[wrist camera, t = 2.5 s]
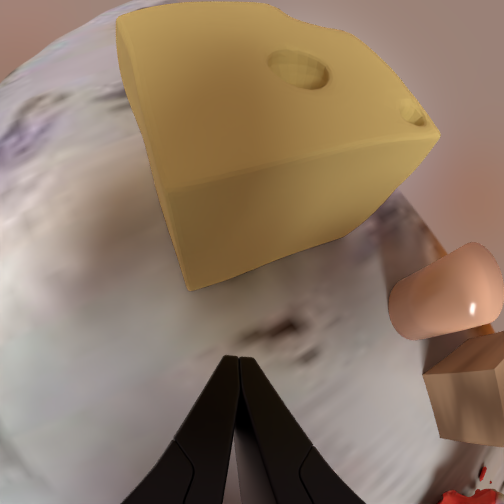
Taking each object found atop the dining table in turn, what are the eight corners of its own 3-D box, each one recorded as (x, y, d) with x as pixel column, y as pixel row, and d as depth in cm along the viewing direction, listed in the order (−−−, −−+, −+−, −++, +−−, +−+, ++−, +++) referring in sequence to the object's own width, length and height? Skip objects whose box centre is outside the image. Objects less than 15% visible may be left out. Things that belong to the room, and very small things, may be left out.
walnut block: (483, 397, 15) (546, 394, 10) (439, 437, 14) (507, 447, 9) (467, 339, 17) (533, 322, 11) (421, 374, 16) (494, 368, 10)
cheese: (281, 115, 21) (319, -4, 12) (354, 246, 18) (461, 144, 9) (137, 147, 18) (110, 13, 9) (183, 307, 15) (147, 219, 6)
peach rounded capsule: (440, 333, 17) (510, 315, 11) (393, 346, 16) (465, 331, 10) (429, 275, 18) (493, 241, 12) (382, 280, 17) (446, 243, 12)
